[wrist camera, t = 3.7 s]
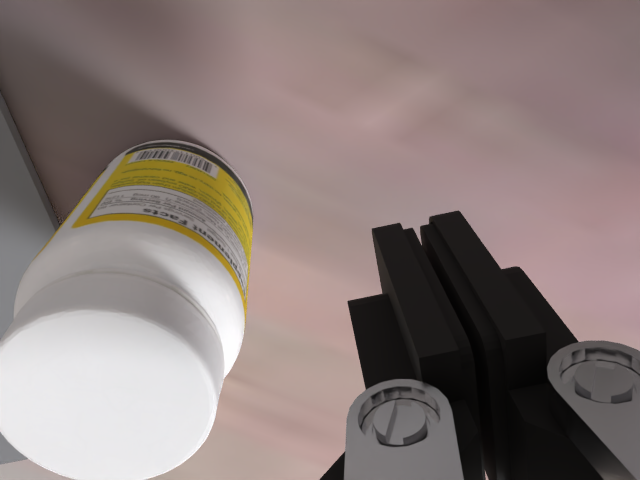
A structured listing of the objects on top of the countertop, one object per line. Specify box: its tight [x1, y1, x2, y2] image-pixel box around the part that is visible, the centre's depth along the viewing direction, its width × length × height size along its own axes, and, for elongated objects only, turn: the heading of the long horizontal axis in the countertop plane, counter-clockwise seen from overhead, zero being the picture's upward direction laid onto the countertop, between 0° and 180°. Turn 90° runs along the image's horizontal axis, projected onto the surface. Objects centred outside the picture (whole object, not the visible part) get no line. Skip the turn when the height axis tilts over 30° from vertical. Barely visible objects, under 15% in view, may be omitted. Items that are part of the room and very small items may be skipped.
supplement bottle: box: [0, 140, 253, 480], centre depth 14 cm, size 5×5×8 cm
